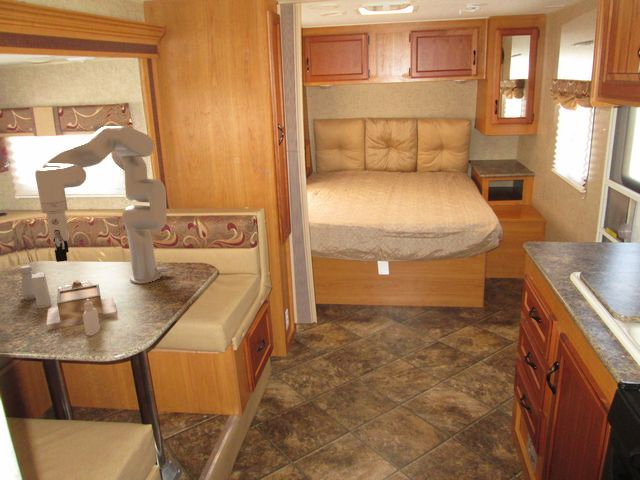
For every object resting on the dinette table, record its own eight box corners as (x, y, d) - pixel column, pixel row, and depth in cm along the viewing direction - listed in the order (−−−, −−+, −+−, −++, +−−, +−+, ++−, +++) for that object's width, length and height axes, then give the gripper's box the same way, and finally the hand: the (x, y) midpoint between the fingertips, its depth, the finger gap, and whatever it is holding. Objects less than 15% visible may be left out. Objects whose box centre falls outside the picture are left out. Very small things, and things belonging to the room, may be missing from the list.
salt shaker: (32, 301, 198) (25, 269, 194) (19, 300, 199) (12, 268, 195) (42, 295, 203) (36, 264, 199) (30, 294, 204) (23, 263, 200)
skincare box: (50, 306, 193) (44, 276, 189) (37, 309, 191) (31, 278, 187) (51, 300, 198) (45, 271, 194) (37, 303, 196) (31, 273, 192)
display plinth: (113, 302, 195) (110, 281, 193) (116, 316, 183) (113, 294, 180) (49, 313, 186) (44, 292, 184) (47, 330, 174) (43, 306, 172)
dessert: (57, 290, 209) (55, 279, 208) (88, 282, 217) (86, 272, 215) (66, 299, 200) (64, 287, 199) (98, 290, 208) (96, 279, 206)
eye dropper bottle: (81, 333, 171) (75, 300, 168) (97, 327, 175) (92, 294, 172) (89, 337, 169) (83, 303, 165) (104, 330, 173) (99, 297, 169)
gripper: (65, 210, 160) (74, 262, 165) (68, 200, 175) (76, 248, 180) (38, 213, 157) (48, 266, 162) (43, 202, 172) (52, 251, 177)
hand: (62, 256), depth 171 cm, fingers open, 9 cm apart
